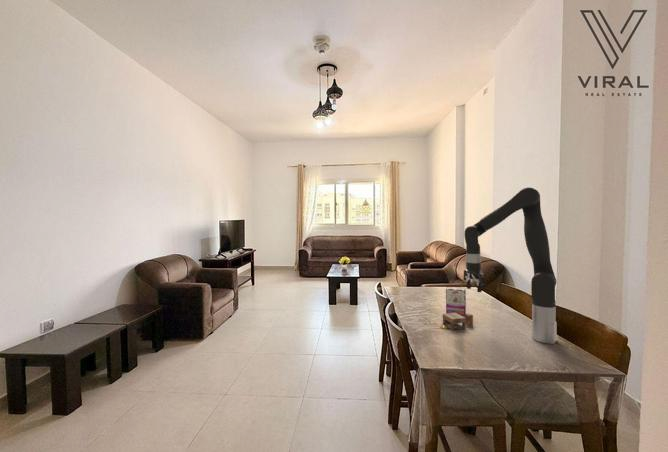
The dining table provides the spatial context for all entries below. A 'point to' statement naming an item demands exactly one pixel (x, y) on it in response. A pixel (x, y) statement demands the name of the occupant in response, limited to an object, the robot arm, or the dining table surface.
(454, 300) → the candy bar box
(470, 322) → the brown l-shaped stand
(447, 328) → the brass token
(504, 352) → the dining table surface
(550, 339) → the robot arm
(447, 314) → the walnut cabinet
